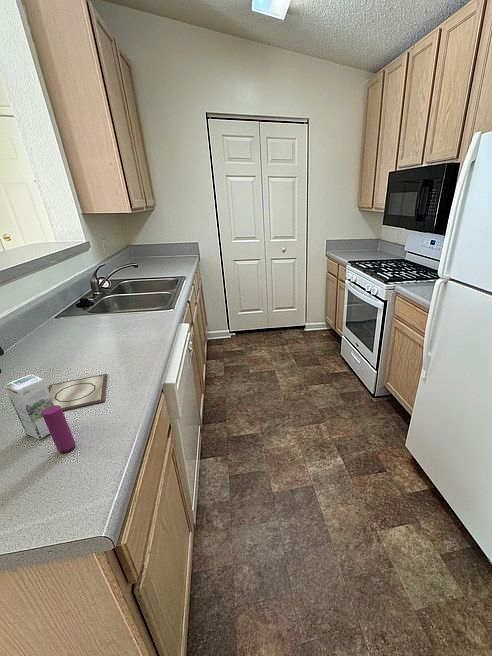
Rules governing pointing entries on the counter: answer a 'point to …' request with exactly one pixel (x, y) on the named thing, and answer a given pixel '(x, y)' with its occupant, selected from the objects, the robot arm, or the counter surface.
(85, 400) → the board
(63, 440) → the cylinder
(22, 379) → the syrup box
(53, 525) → the counter surface
